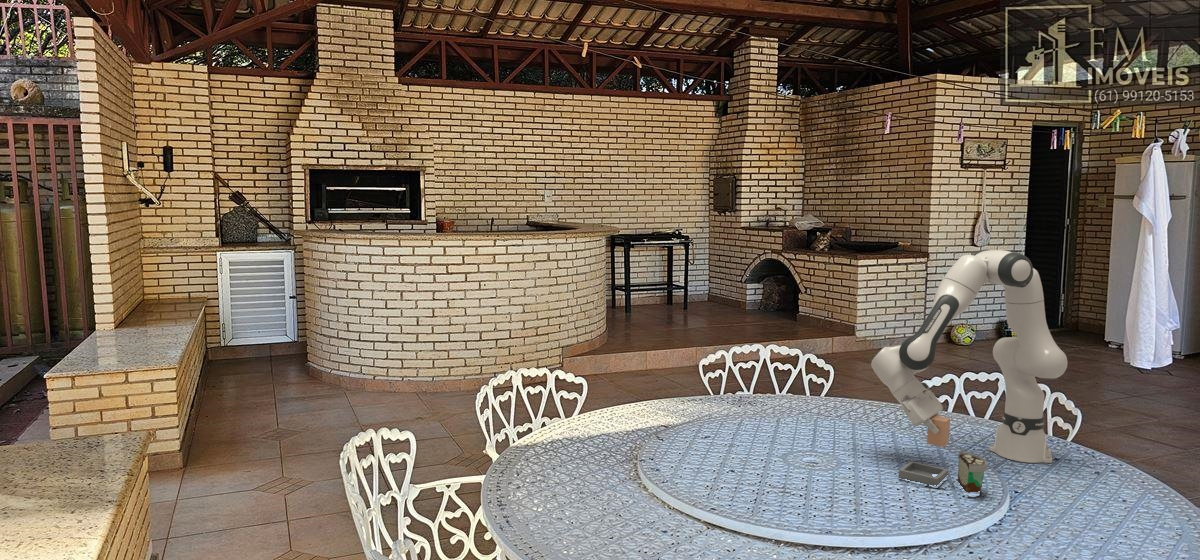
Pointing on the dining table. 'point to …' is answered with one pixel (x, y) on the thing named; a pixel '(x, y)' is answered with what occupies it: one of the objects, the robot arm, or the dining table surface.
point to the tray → (922, 473)
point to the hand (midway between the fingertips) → (940, 430)
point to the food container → (971, 471)
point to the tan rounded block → (943, 434)
